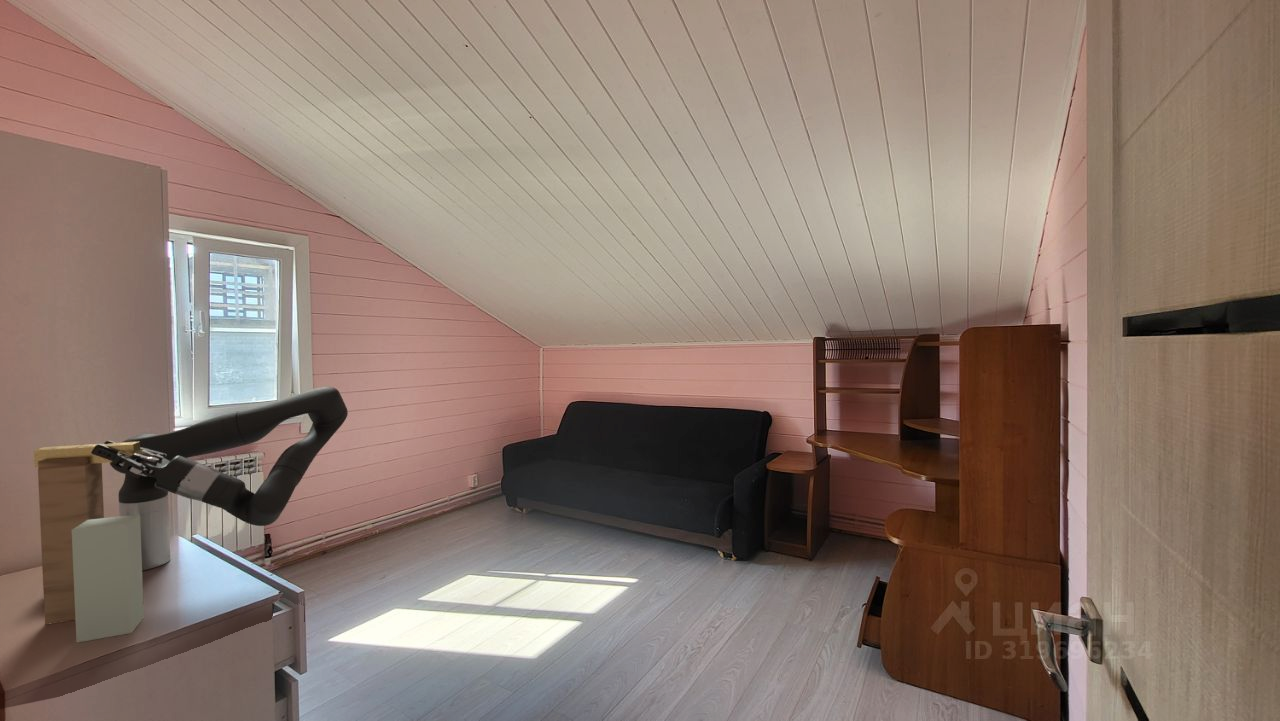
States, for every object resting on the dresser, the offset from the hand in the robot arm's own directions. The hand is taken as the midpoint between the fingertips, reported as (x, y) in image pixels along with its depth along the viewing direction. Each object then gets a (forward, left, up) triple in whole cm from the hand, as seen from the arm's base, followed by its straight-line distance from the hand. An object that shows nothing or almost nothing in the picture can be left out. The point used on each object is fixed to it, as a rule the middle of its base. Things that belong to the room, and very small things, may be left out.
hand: (99, 446), depth 113 cm
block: (+11, +5, -35) cm, 37 cm away
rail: (0, -2, -3) cm, 4 cm away
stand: (0, -5, -35) cm, 36 cm away
